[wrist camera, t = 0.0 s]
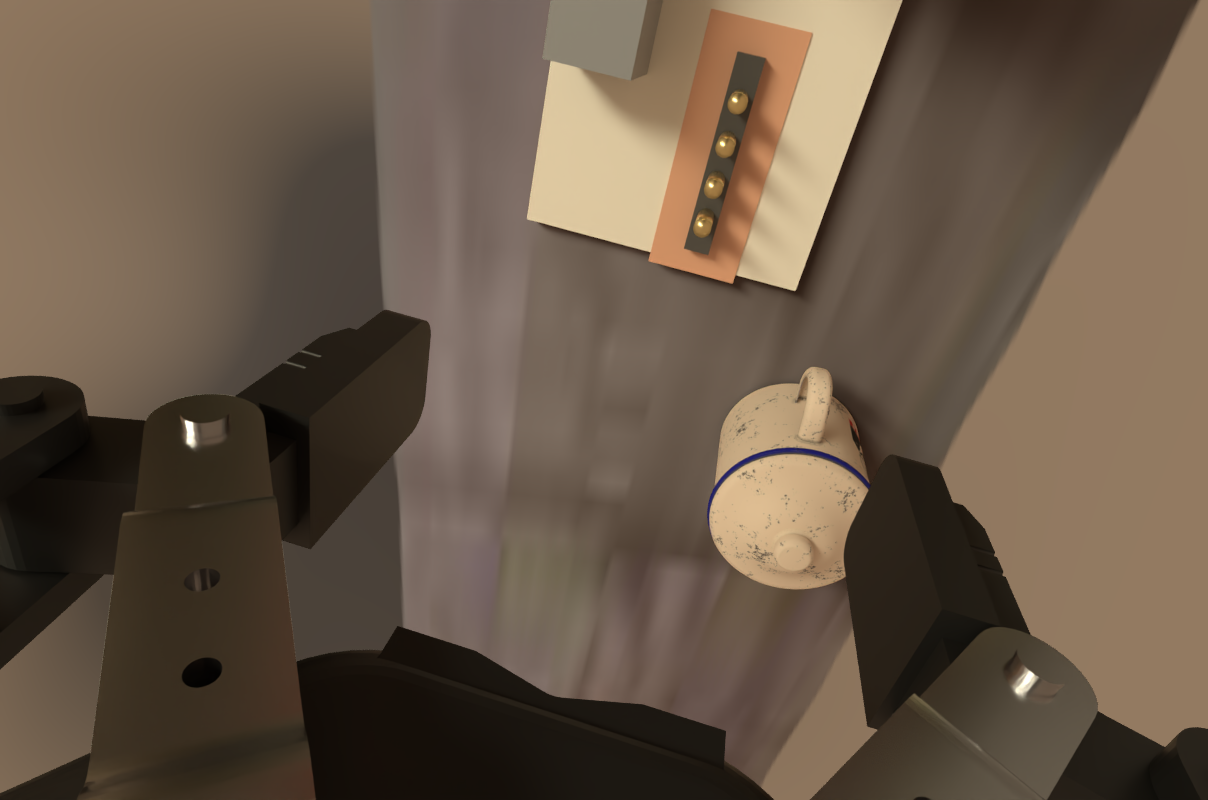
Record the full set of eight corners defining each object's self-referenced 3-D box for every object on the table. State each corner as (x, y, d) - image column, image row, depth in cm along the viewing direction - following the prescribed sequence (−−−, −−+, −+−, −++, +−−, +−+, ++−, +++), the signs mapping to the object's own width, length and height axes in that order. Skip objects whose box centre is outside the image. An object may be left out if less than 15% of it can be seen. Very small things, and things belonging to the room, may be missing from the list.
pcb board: (598, -215, 32) (593, -223, 31) (950, -139, 31) (955, -144, 30) (530, 223, 42) (525, 227, 41) (791, 293, 41) (792, 299, 40)
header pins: (733, 87, 35) (730, 91, 32) (750, 91, 34) (749, 96, 32) (695, 222, 38) (691, 235, 36) (711, 227, 38) (708, 239, 36)
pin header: (738, 51, 35) (737, 51, 34) (765, 57, 34) (765, 58, 34) (685, 244, 40) (683, 248, 39) (709, 250, 39) (708, 255, 39)
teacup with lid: (841, 510, 47) (861, 642, 37) (706, 483, 48) (690, 604, 38) (894, 348, 41) (936, 453, 31) (739, 322, 42) (730, 415, 32)
